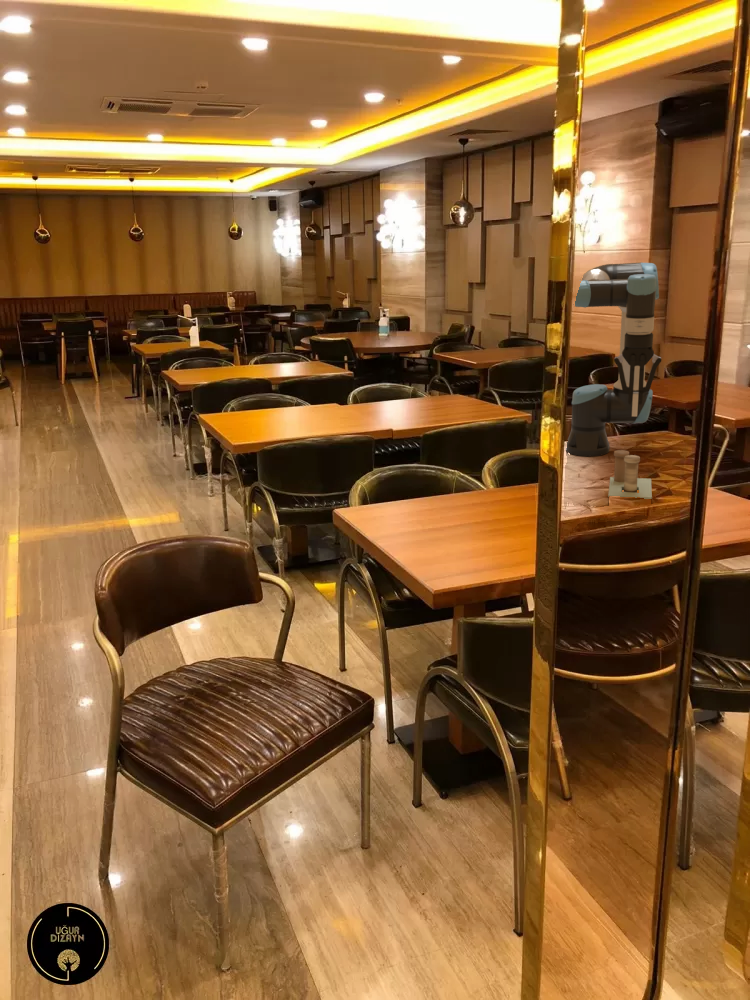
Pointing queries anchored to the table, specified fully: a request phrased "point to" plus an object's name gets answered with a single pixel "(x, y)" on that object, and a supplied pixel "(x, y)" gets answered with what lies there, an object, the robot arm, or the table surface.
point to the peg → (631, 473)
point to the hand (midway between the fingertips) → (634, 415)
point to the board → (619, 477)
